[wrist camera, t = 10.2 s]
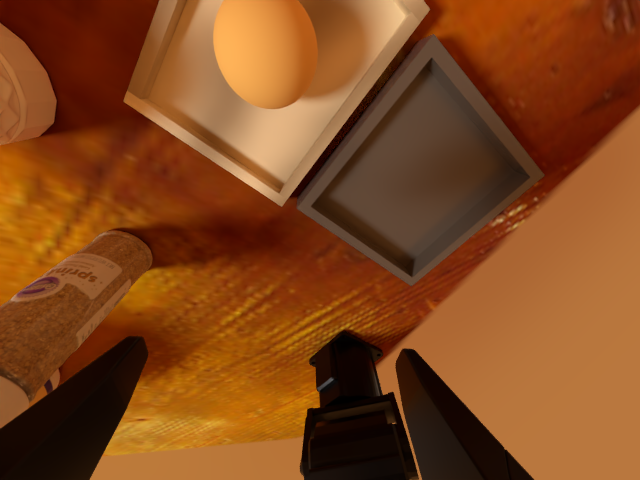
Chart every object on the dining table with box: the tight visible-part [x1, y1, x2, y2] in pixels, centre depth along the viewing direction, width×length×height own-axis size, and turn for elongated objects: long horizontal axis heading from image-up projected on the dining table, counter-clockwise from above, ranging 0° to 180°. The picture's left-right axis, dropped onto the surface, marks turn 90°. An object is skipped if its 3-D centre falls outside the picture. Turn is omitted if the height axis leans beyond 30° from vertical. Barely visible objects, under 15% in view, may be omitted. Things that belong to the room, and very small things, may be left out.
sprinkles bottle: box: [0, 230, 153, 428], centre depth 16 cm, size 5×5×14 cm
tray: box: [123, 0, 430, 207], centre depth 15 cm, size 11×14×2 cm
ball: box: [213, 0, 318, 109], centre depth 12 cm, size 5×5×5 cm
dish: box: [297, 34, 545, 286], centre depth 19 cm, size 12×12×2 cm
